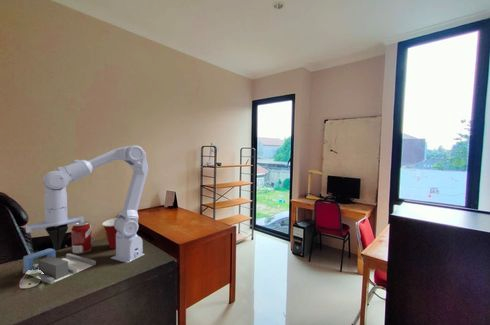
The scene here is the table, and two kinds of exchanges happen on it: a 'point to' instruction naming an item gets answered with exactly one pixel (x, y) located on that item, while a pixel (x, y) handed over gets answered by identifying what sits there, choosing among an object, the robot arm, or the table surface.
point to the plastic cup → (110, 232)
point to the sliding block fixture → (74, 261)
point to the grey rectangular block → (53, 267)
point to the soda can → (81, 237)
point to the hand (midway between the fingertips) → (57, 248)
